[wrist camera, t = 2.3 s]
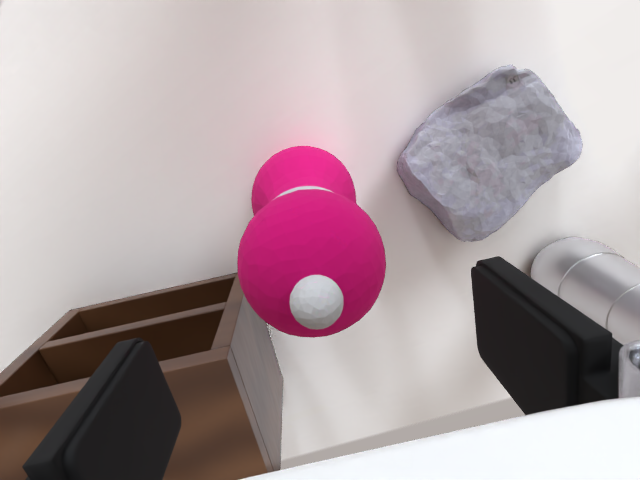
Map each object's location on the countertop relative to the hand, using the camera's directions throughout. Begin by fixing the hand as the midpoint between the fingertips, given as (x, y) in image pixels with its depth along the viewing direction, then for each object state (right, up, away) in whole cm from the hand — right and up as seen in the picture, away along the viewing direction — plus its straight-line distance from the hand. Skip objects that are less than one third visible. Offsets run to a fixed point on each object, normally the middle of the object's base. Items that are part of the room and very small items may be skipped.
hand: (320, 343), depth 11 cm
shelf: (-13, -7, +24) cm, 28 cm away
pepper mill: (-1, +7, +20) cm, 21 cm away
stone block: (+12, +10, +20) cm, 25 cm away
